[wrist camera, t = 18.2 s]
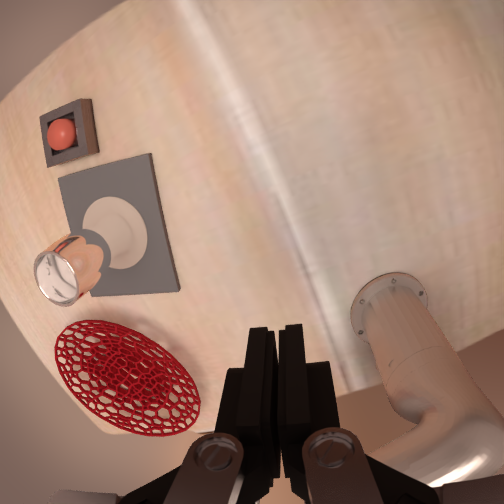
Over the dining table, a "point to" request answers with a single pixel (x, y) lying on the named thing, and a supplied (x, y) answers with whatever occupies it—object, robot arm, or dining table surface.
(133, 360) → the bowl
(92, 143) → the button housing
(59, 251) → the beer glass
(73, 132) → the button
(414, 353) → the robot arm
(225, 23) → the dining table surface
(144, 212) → the grey rectangular board
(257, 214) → the dining table surface
